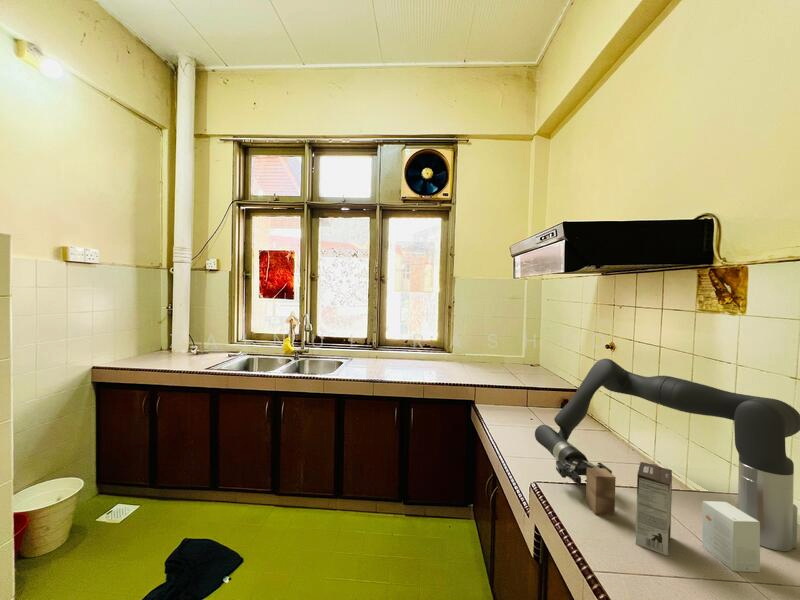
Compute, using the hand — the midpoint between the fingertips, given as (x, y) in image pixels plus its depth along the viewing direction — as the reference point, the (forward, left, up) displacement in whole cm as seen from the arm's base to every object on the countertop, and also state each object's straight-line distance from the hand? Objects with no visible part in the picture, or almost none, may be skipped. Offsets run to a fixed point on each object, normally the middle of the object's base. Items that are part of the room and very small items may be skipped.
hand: (595, 482), depth 98 cm
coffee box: (-6, +15, -6) cm, 17 cm away
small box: (-19, +20, -6) cm, 28 cm away
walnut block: (0, +3, -6) cm, 7 cm away
